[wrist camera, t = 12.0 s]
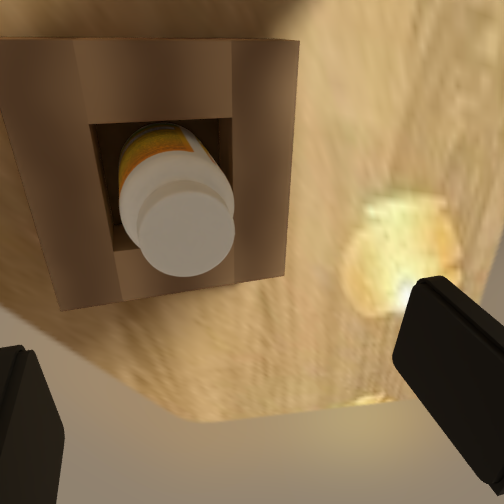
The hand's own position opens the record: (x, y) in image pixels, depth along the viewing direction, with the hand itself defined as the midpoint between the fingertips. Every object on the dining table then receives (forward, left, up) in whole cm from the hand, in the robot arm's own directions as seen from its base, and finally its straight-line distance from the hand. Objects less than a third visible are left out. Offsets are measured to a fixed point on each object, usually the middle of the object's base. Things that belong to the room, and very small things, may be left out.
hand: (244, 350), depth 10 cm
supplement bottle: (0, +1, -17) cm, 17 cm away
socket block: (0, +1, -17) cm, 17 cm away
